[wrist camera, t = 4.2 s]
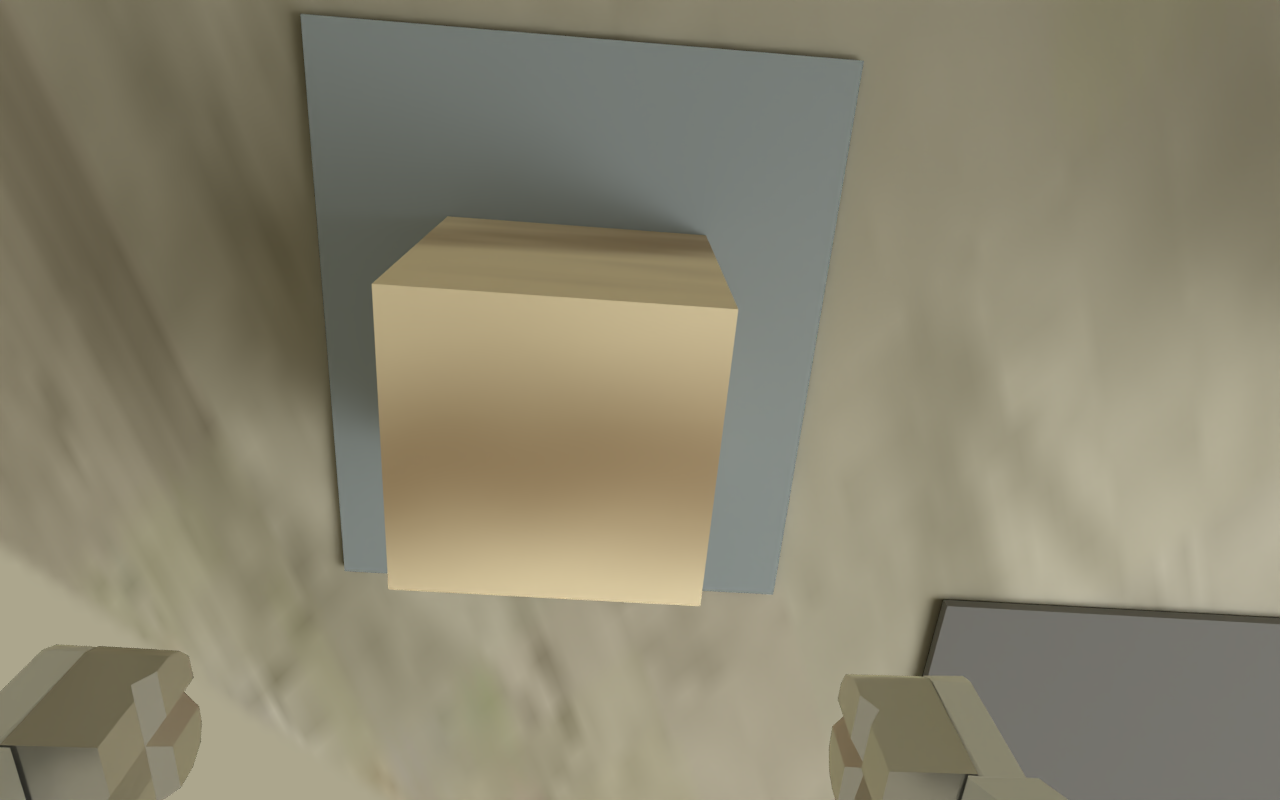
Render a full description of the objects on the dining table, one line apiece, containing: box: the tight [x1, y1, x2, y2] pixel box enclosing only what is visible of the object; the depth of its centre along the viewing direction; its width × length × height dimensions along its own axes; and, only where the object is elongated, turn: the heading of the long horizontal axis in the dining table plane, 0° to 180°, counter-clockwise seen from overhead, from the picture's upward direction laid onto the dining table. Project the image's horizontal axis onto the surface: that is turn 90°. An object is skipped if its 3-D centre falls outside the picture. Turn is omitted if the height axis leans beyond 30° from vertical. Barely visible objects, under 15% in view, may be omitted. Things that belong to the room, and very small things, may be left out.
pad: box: [923, 600, 1280, 800], centre depth 26 cm, size 14×14×1 cm
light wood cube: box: [372, 216, 738, 606], centre depth 17 cm, size 6×6×6 cm
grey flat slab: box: [300, 14, 864, 594], centre depth 20 cm, size 14×12×1 cm
